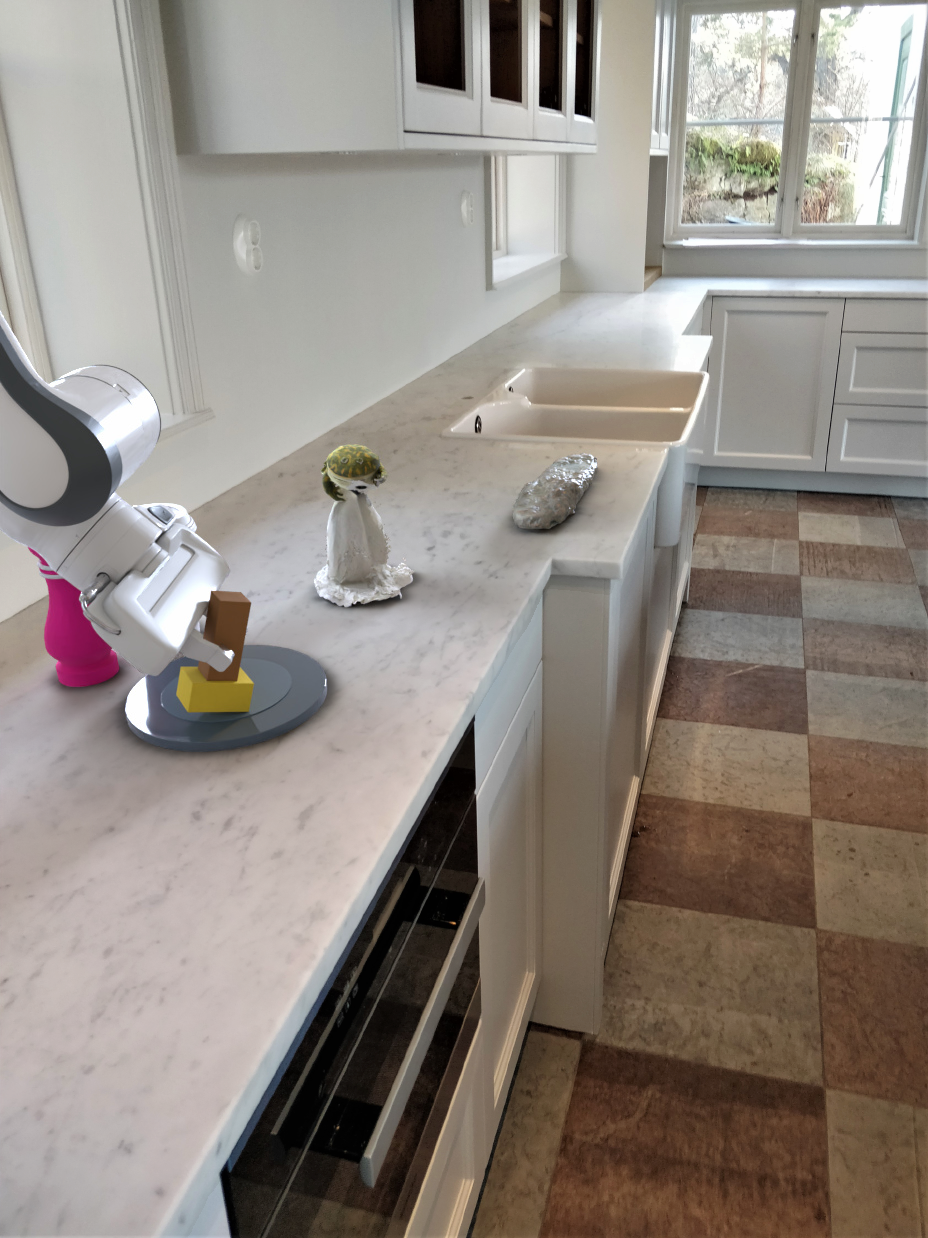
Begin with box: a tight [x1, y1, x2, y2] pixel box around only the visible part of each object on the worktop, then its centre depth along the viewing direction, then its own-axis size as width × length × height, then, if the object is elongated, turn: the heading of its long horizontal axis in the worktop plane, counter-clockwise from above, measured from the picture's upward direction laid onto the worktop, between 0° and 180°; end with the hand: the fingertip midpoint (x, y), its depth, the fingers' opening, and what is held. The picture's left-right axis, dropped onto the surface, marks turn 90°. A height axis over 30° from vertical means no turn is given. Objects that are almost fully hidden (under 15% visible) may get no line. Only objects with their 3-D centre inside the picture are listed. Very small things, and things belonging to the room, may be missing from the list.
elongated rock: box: [511, 452, 599, 530], centre depth 152 cm, size 35×5×10 cm
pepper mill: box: [27, 547, 120, 688], centre depth 100 cm, size 7×7×20 cm
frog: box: [313, 444, 415, 608], centre depth 119 cm, size 12×13×18 cm
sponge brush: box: [176, 590, 254, 712], centre depth 91 cm, size 6×4×11 cm, turn 121°
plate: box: [124, 644, 328, 753], centre depth 97 cm, size 20×20×1 cm
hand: (236, 650), depth 91 cm, fingers closed on sponge brush, 4 cm apart
